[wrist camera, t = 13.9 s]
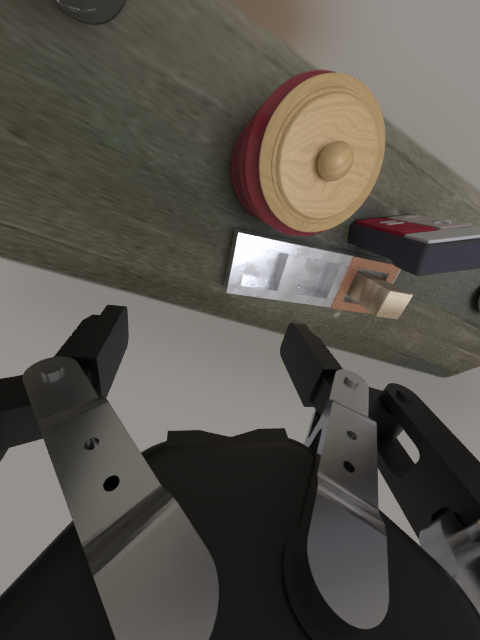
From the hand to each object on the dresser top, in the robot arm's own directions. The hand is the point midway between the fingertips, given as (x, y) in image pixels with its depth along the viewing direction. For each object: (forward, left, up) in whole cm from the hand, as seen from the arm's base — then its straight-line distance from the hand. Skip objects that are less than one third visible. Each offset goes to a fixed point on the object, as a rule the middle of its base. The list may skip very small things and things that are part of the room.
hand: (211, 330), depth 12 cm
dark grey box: (-6, +29, -27) cm, 40 cm away
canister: (-10, +9, -27) cm, 30 cm away
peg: (+3, +27, -26) cm, 38 cm away
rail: (+3, +19, -27) cm, 33 cm away
